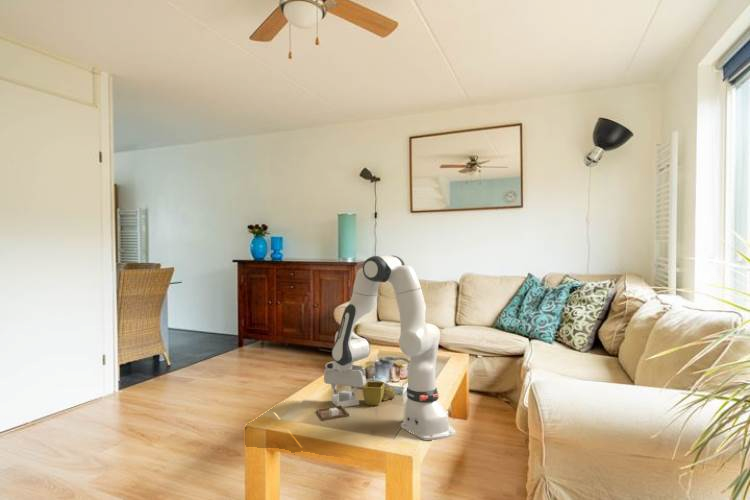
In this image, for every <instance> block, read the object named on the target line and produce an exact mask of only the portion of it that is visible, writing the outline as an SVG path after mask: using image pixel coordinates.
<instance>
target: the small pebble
mask: <svg viewBox="0 0 750 500" xmlns="http://www.w3.org/2000/svg"><path fill="white" fill-rule="evenodd" d="M337 415H339V410H338V409H337V408H331V409H329V416H330V417H331V416H337Z"/></svg>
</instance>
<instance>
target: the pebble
mask: <svg viewBox="0 0 750 500" xmlns="http://www.w3.org/2000/svg"><path fill="white" fill-rule="evenodd" d="M352 392H353V390H352V391H351V390H350V391H349V390H341V391H340V392H338V395H339V402H340V401H346V400H352Z"/></svg>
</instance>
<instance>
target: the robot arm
mask: <svg viewBox="0 0 750 500" xmlns="http://www.w3.org/2000/svg"><path fill="white" fill-rule="evenodd" d="M386 282H388V283H390V284H391V286H392V288H393V292H394V295H395V299H396V303H397V304H396V305H397V309H398V312H399V320H400V323H399V324H400V326H399V327H400V335H399V339H398V347H399V349H400V351H401V352H402V353H403V355H406V356H407V357H410V360H409V363H408V365H407V387H406V397H407V399H406V401H405V404H404V405H403V406H404V407H403V420H402V421H403V422H401V423H400V428H401V429H403V430H405V429H406V430H405V431H407V430H408V431H407V432H409V431H410V432H412V433H414V434H415V435H414V434H413V435H414V436H416V435H417V436H416V437H418V438H419V439H422V440H424V441H436V440H442V439H448V438H450V437H452V436H455V435H456V434H457V432H456V430H455V429H454V427H453V426H452V425H451V424H450V421H449V419H450V418H449V415H450V414H449V411H448V410H445V409H444V407H443V404H441V402H440V399H439V397H440V394H439V392H438V388H437V385H436V365H437V359H438V353H439V351H438V350H439V345H440V344H439V343H440V340H441V338H442V337H441V331H440V329H439V328H438V326H437V325H435V324H433V323H429V322H426V311H427V304H426V301H425V298H424V297H425V296H424V293H423V290H422V287H421V283H420V280H419V278H418V276H417V273H416V271H415V269H414V268H413V267H412V266H411V265H408V264H405V261H404V260H403V259H402V258H401V257H399V256H397V255H387V254H381V255H380V254H379V255H373V256H370V257H368V258H367V259H365V261H364V262H363V265H362V268H360V269H359V270H358V271H357V272H356V276H355V278H354V282H353V287H352V294H351V297H350V301H349V303H348V305H347V306H346V307H345V308H344V311H343V314H342V318H341V321H340V324H339V327H338V328H339V329H338V330H337V331H336V333H335V335H334V344H333V346H332V348H331V357H332V360H331V361H328V362H326V364H324V365H325V369H324V373H323V380H324V383H325V384H327V385H330V387H331V388H332V390H333V395H339V388H337V387H336V386H337V385H338V386H345V387H353V389H354V390H352V396H356V397H357V393H358V390H359V389H360V388H362V387H364V386H365V385H366V382H367V378H366V368H365V367H363V366H362V365H356V364H355V363H356V362H358V361H362V360H365V359H367V358H368V357H369V355H370V353H371V345H370V342H369V341H368V339H366V338H364V337H361V336H359V335H358V334H356V333H355V331H354V328H355V325H356V324H357V322H358V321H359V320H360V319H361V318H362V317H363V316H365V315H367V314H369V313H371V312H372V311H373V309H375V307H376V305H377V301H378V297H379V288H380V284H381V283H386ZM410 432H409V433H410ZM412 433H411V434H412Z"/></svg>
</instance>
